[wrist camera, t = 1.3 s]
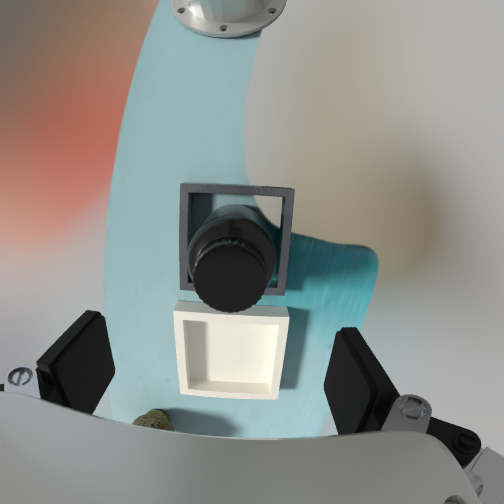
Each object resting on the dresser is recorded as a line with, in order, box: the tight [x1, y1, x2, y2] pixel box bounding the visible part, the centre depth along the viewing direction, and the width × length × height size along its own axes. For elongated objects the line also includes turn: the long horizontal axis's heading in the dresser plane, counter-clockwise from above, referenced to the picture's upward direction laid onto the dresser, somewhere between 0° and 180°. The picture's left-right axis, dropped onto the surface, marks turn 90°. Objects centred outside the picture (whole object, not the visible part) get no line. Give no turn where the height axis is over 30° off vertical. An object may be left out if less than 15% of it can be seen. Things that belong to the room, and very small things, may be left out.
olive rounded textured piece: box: [132, 409, 175, 432], centre depth 33 cm, size 8×7×8 cm
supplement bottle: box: [187, 204, 277, 313], centre depth 24 cm, size 7×7×12 cm
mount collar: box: [179, 183, 295, 296], centre depth 28 cm, size 11×11×2 cm
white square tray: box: [173, 300, 290, 399], centre depth 32 cm, size 12×12×2 cm
